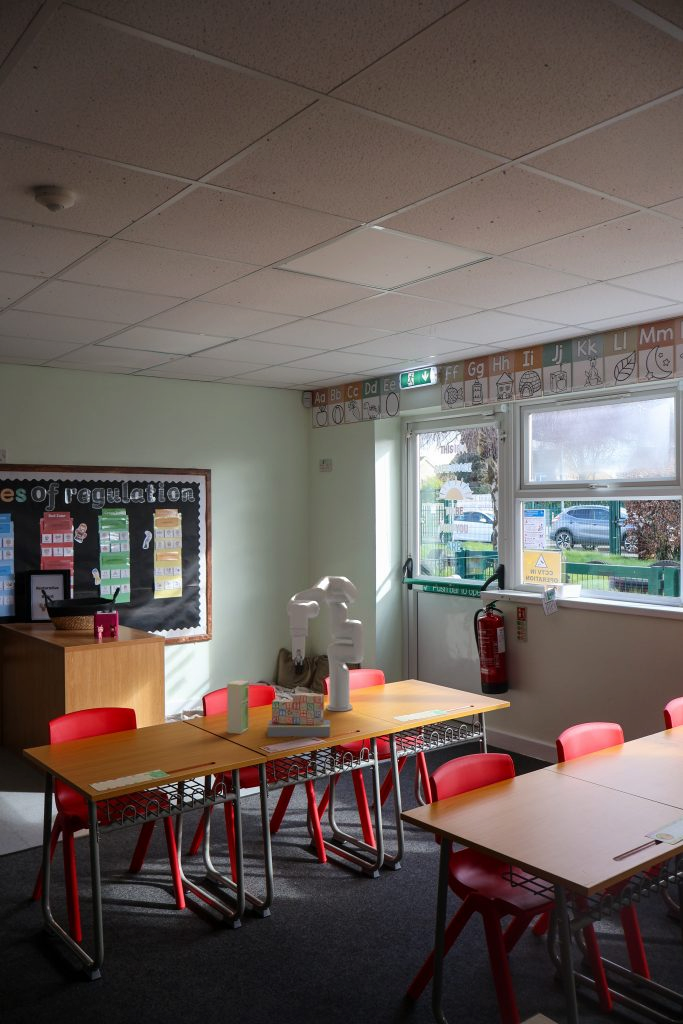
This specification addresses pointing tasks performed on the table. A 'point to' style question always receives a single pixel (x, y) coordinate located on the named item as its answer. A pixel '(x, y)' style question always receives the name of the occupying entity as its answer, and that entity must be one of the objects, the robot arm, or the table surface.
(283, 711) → the stack of blocks
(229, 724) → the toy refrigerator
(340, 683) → the robot arm
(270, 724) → the block
